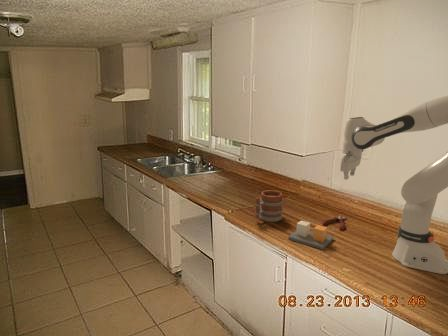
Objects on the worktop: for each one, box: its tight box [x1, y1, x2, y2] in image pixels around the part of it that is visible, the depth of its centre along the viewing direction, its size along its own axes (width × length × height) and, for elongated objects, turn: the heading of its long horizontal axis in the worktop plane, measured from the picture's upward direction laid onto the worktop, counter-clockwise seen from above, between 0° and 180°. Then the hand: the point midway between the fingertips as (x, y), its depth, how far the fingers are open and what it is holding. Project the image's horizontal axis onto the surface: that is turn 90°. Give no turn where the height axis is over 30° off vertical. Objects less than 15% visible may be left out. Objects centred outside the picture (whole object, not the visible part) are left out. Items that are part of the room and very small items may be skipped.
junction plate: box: [287, 220, 334, 250], centre depth 168 cm, size 18×14×8 cm
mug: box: [254, 189, 284, 223], centre depth 193 cm, size 14×19×15 cm
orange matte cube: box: [312, 224, 328, 242], centre depth 166 cm, size 5×5×6 cm
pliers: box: [321, 215, 347, 231], centre depth 190 cm, size 12×20×3 cm, turn 143°
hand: (349, 177), depth 168 cm, fingers open, 8 cm apart
